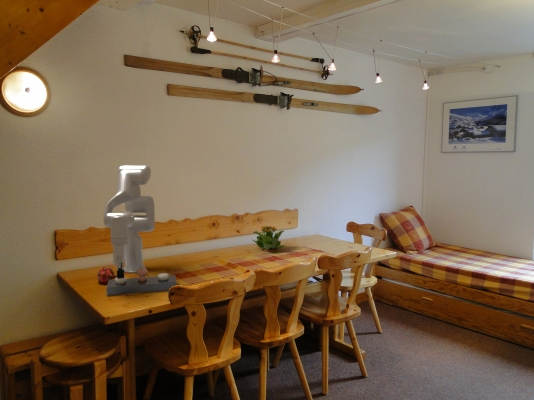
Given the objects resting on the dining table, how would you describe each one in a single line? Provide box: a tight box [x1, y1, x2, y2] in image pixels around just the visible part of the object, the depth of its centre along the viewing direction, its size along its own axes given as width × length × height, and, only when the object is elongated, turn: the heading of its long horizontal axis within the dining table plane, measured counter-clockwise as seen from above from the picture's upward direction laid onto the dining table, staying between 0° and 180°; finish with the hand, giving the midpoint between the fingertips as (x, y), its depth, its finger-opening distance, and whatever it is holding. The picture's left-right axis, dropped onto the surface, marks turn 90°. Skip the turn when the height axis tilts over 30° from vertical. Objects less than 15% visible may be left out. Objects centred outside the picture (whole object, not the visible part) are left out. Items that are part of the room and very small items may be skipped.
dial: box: [136, 268, 149, 282], centre depth 203 cm, size 5×5×6 cm
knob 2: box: [157, 272, 169, 281], centre depth 206 cm, size 5×5×6 cm
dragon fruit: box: [96, 266, 117, 285], centre depth 213 cm, size 8×8×12 cm
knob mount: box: [106, 274, 177, 297], centre depth 203 cm, size 12×32×4 cm, turn 106°
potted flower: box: [252, 225, 287, 253], centre depth 284 cm, size 25×24×18 cm
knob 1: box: [114, 275, 127, 284], centre depth 200 cm, size 5×5×6 cm
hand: (120, 277), depth 200 cm, fingers closed
